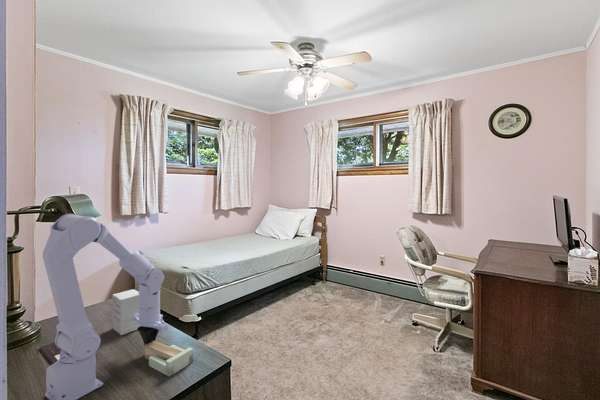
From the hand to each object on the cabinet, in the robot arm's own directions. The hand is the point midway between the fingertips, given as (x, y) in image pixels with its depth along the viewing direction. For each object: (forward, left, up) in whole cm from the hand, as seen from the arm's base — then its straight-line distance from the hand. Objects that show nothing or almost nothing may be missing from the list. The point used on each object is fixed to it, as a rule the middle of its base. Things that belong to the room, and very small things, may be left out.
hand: (149, 348), depth 91 cm
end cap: (0, -10, -1) cm, 10 cm away
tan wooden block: (-1, -7, -2) cm, 7 cm away
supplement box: (+5, +20, -2) cm, 21 cm away
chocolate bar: (-13, +20, -2) cm, 24 cm away
